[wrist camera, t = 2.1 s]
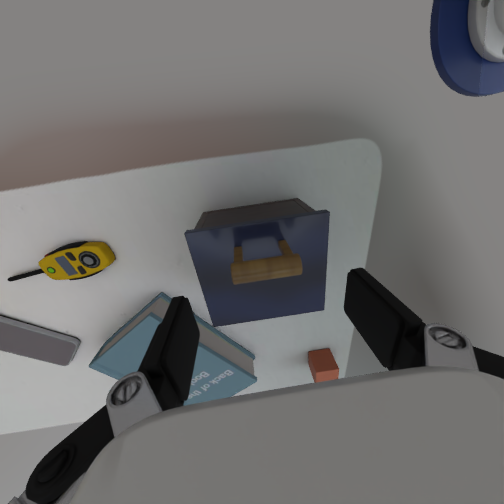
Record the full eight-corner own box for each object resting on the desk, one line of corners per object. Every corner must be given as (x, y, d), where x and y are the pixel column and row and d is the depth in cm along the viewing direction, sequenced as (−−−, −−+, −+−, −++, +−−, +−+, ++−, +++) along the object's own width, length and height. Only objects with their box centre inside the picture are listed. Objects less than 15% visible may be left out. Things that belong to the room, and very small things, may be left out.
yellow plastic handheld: (114, 271, 26) (14, 298, 27) (122, 264, 28) (27, 289, 29) (92, 240, 24) (-17, 270, 25) (102, 234, 26) (0, 262, 27)
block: (308, 351, 40) (316, 372, 36) (329, 348, 40) (339, 369, 36) (308, 364, 42) (315, 385, 38) (328, 361, 42) (337, 382, 38)
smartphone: (67, 367, 36) (-39, 340, 31) (71, 362, 36) (-32, 336, 32) (78, 343, 33) (-36, 310, 28) (82, 338, 34) (-28, 306, 29)
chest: (203, 212, 25) (188, 238, 18) (298, 198, 26) (325, 217, 18) (219, 278, 30) (214, 321, 22) (299, 266, 30) (321, 305, 23)
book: (254, 355, 39) (257, 381, 35) (200, 389, 43) (196, 416, 39) (161, 292, 31) (149, 315, 26) (104, 342, 35) (85, 370, 30)
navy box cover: (186, 230, 17) (167, 260, 12) (326, 209, 17) (360, 231, 12) (214, 321, 22) (208, 367, 18) (321, 305, 23) (344, 346, 18)
